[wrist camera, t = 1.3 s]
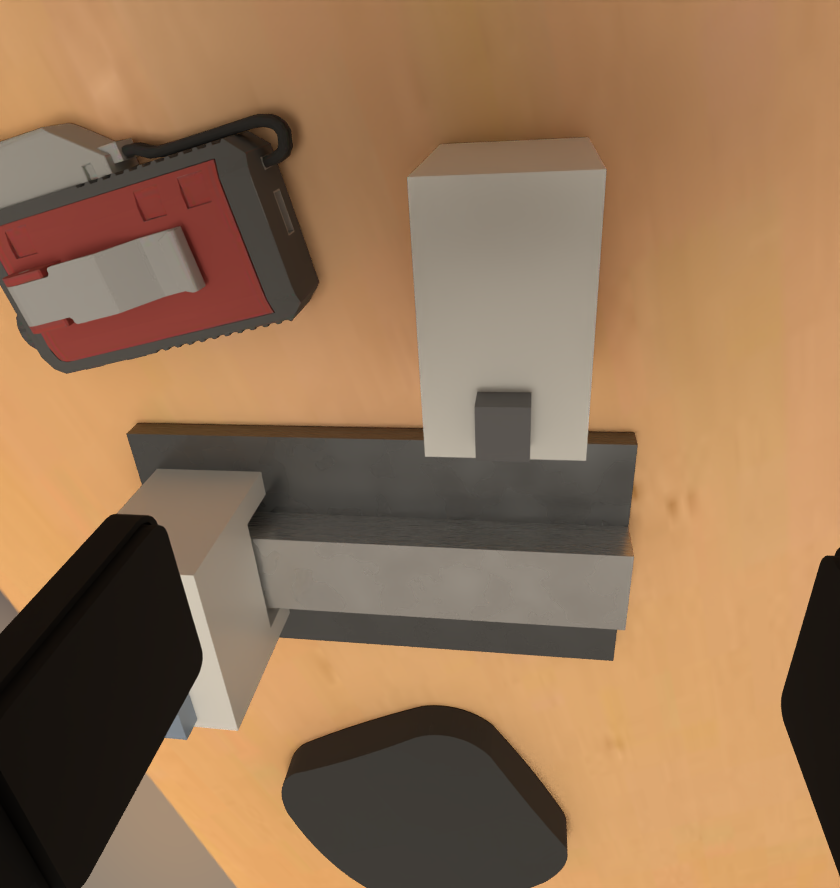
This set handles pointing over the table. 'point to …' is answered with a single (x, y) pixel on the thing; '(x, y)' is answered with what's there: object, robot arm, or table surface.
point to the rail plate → (410, 493)
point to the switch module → (507, 296)
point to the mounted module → (216, 586)
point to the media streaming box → (426, 804)
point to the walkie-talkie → (147, 240)
